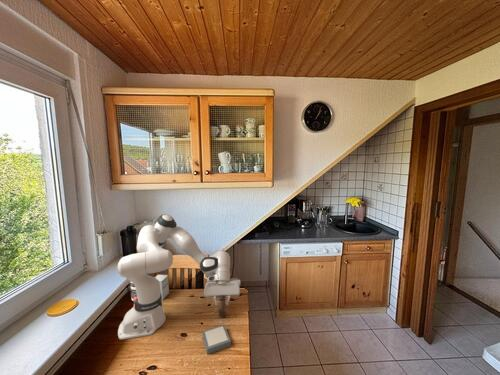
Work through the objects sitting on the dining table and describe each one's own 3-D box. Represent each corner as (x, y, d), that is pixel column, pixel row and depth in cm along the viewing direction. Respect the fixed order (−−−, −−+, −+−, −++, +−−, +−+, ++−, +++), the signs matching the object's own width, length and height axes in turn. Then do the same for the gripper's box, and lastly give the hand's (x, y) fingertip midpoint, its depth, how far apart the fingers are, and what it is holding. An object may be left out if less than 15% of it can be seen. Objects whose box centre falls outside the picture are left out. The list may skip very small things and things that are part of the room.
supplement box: (162, 300, 134) (161, 281, 133) (152, 299, 136) (150, 280, 134) (169, 293, 142) (168, 275, 140) (159, 292, 143) (158, 274, 141)
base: (207, 354, 97) (207, 349, 96) (202, 336, 107) (202, 331, 106) (230, 345, 101) (230, 340, 101) (224, 329, 111) (224, 324, 111)
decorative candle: (148, 297, 137) (144, 260, 134) (131, 303, 132) (127, 264, 129) (145, 290, 145) (142, 255, 141) (130, 295, 140) (126, 258, 136)
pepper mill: (219, 319, 118) (218, 300, 116) (217, 314, 121) (217, 296, 120) (226, 316, 119) (226, 298, 118) (224, 312, 123) (224, 294, 121)
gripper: (240, 279, 130) (240, 305, 122) (205, 280, 129) (204, 307, 121) (240, 276, 125) (240, 303, 117) (204, 278, 124) (202, 305, 116)
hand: (221, 305), depth 119 cm, fingers closed on pepper mill, 4 cm apart
